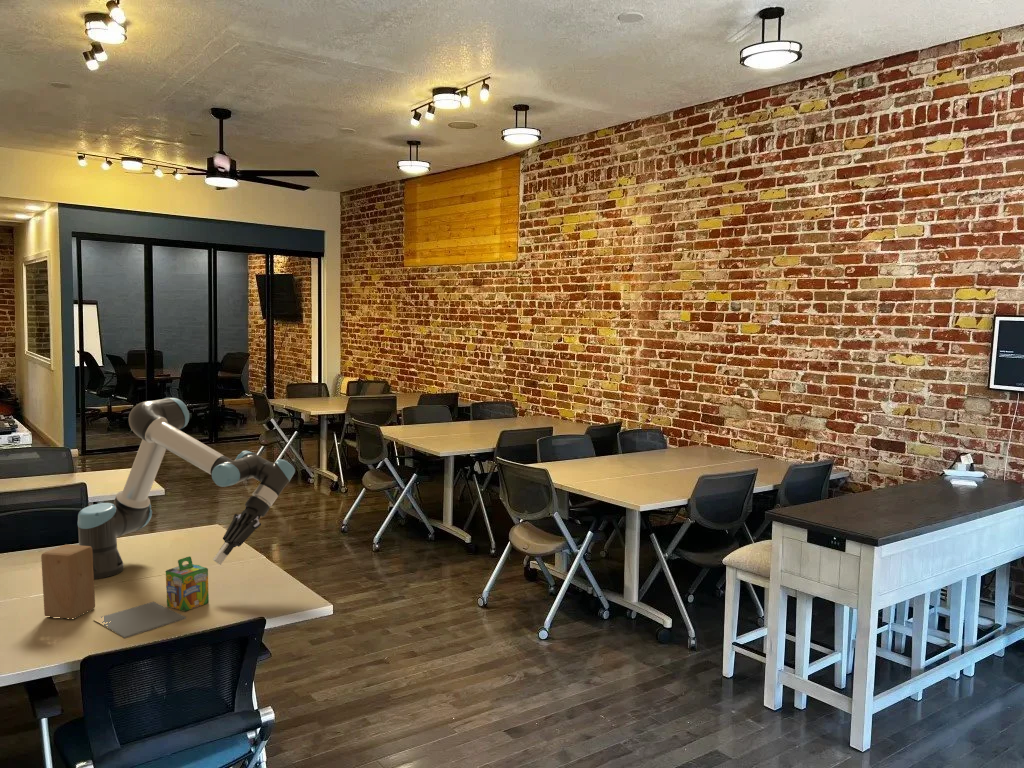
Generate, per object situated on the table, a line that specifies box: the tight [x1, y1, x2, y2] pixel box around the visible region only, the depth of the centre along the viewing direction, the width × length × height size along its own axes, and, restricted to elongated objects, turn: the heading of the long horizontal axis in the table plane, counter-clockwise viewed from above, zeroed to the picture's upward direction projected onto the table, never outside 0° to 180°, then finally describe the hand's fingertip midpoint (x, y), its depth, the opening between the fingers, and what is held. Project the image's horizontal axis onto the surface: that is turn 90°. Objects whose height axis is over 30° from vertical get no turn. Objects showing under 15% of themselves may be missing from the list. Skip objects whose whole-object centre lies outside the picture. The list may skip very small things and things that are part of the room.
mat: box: [100, 601, 187, 639], centre depth 227 cm, size 20×18×1 cm
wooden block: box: [40, 543, 96, 619], centre depth 231 cm, size 10×10×20 cm
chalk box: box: [165, 556, 210, 612], centre depth 238 cm, size 9×9×15 cm
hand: (216, 562), depth 246 cm, fingers closed
